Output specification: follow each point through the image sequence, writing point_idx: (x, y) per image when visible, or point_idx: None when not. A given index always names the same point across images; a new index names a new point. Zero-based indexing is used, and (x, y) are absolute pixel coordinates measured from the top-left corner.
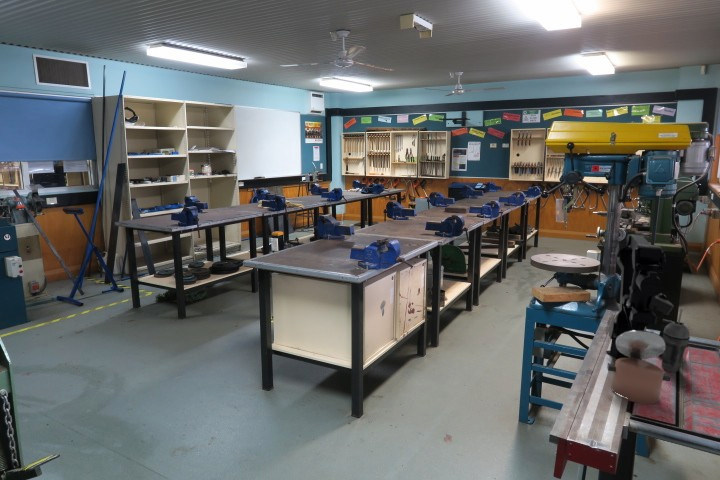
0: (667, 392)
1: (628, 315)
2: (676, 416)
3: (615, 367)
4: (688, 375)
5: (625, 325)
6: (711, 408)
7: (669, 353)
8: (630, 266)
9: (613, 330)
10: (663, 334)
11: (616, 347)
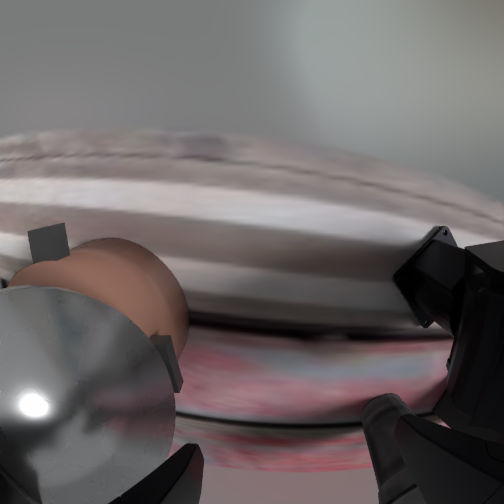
0: (191, 399)
1: (484, 488)
2: None
3: (34, 261)
4: (348, 441)
5: (496, 359)
6: (169, 454)
7: (380, 447)
8: None
9: (489, 269)
10: None
11: (50, 286)
